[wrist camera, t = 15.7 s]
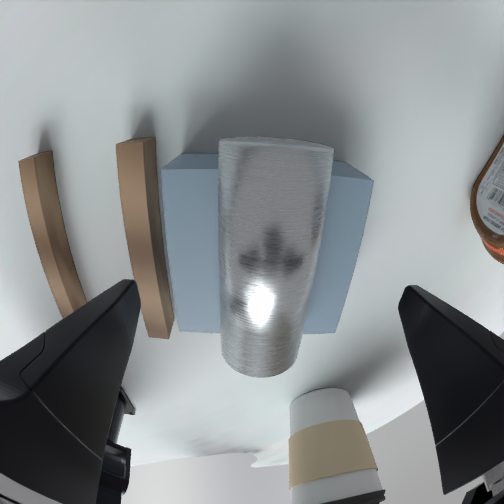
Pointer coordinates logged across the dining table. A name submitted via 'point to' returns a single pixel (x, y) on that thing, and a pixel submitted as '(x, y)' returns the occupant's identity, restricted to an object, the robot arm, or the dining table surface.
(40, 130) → the dining table surface
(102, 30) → the dining table surface
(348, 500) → the coffee cup
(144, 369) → the dining table surface
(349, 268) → the v block
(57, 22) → the dining table surface
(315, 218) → the axle
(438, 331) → the robot arm
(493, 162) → the tin
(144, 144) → the guide channel
